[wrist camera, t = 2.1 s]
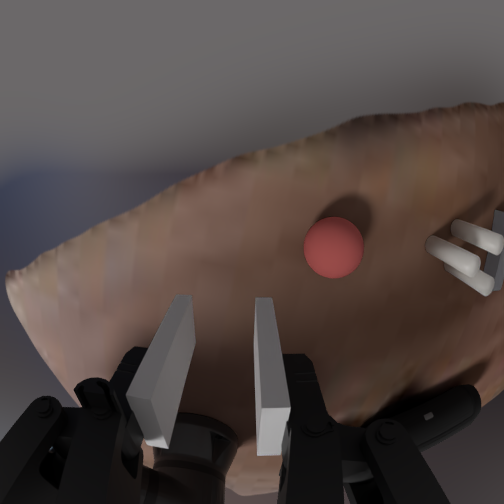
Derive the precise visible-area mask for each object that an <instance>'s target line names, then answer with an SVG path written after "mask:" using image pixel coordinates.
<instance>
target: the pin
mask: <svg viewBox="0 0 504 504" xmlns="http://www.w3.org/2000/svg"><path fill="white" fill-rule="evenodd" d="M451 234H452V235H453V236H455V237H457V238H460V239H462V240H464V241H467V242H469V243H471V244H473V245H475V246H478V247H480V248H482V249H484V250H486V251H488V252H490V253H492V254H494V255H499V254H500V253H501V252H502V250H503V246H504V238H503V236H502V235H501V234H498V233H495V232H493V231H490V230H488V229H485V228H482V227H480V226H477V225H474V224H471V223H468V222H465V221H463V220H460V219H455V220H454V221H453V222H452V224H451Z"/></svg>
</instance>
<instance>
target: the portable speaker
mask: <svg viewBox="0 0 504 504" xmlns="http://www.w3.org/2000/svg"><path fill="white" fill-rule="evenodd" d="M480 410H481V398H480V395H479V393H478V391H477V389H476V388H475V387H474V386H472V385H469V384H467V385H459V386H456V387H454V388H452V389H451V390H449V391H447V392H445V393H443V394H441V395H439V396H437V397H435V398H433V399H431V400H429V401H427V402H425V403H423V404H421V405H419V406H417V407H414V408H412V409H410V410H408V411H405V412H403V413H400V414H398V415H395V416H393V417H390V418H388V419H392V420H395V421H397V422H399V423H401V424H402V425H403V427H404V428H405V429H406V430H407V432H408V434H409V435H410V437H411V438H412V440H413V442H414V443H415V445H416V446H417V448H418V450H419V451H420V453H421V452H423V451H425V450H427V449H429V448H431V447H432V446H435V445H436V444H438V443H440V442H442V441H444V440H446V439H447V438H449V437H451V436H452V435H454V434H456V433H457V432H459V431H461V430H462V429H464V428H466V427H467V426H469V425H470V424H471V423H472V422H473V421H474V419H475V418H476V417H477V415H478V414H479V412H480ZM368 426H369V425H368ZM368 426H367V427H368ZM367 427H366V428H367Z"/></svg>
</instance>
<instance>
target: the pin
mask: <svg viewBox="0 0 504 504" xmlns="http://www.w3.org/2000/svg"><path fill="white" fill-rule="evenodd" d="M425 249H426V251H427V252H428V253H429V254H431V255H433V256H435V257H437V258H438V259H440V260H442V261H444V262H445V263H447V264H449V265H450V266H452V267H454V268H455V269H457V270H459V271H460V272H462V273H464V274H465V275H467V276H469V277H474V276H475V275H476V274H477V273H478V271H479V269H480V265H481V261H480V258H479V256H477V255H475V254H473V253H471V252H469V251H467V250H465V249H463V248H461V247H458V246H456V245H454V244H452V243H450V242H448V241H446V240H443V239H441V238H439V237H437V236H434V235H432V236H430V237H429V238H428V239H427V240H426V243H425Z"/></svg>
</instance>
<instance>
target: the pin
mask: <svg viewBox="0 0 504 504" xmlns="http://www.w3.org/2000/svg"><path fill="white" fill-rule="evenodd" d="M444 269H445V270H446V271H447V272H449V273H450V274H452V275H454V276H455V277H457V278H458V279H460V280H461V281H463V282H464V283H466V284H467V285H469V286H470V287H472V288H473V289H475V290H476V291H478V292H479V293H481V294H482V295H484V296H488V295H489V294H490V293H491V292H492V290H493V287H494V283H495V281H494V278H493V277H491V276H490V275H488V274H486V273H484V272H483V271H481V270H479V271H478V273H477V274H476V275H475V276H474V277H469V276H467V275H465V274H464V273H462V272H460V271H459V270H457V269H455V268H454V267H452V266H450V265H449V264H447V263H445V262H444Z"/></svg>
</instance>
